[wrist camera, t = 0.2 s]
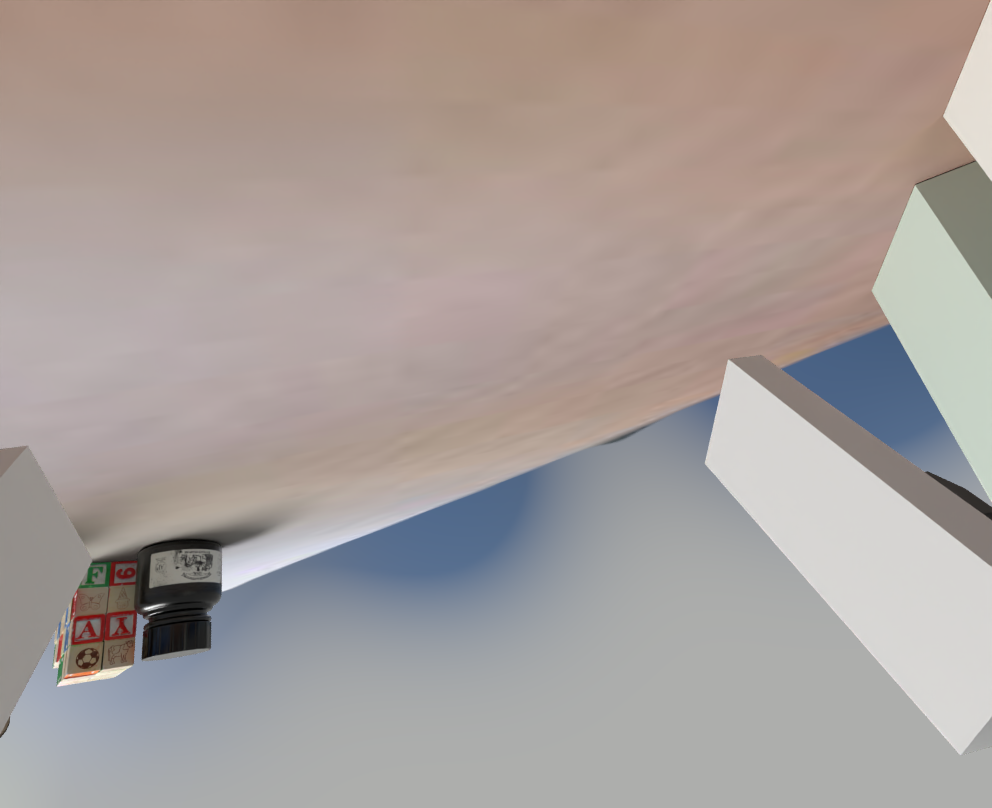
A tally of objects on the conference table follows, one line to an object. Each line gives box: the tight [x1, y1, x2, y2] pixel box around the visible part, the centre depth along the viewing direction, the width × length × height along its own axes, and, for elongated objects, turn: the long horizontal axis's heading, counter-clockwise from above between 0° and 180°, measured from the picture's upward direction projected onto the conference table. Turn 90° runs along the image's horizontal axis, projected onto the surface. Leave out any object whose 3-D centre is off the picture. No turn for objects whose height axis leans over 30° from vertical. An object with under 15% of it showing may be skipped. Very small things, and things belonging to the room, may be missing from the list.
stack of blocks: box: [52, 561, 137, 686], centre depth 71 cm, size 21×6×12 cm, turn 141°
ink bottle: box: [134, 541, 222, 661], centre depth 65 cm, size 10×9×12 cm
